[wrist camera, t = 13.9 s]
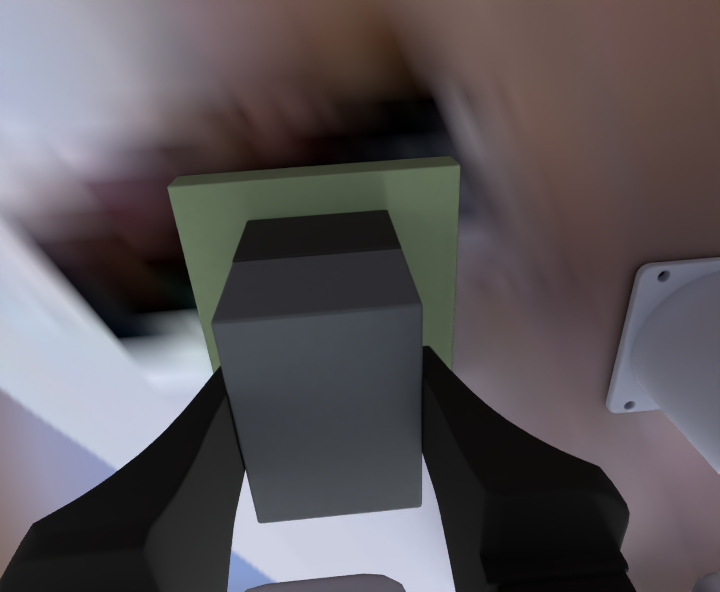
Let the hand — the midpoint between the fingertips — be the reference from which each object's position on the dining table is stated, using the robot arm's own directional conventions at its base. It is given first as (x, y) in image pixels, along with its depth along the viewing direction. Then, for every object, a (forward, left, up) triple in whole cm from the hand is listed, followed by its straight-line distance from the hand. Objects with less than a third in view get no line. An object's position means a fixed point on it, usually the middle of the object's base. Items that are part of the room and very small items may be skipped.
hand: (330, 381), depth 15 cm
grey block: (0, 0, -1) cm, 1 cm away
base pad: (0, 0, -6) cm, 6 cm away
